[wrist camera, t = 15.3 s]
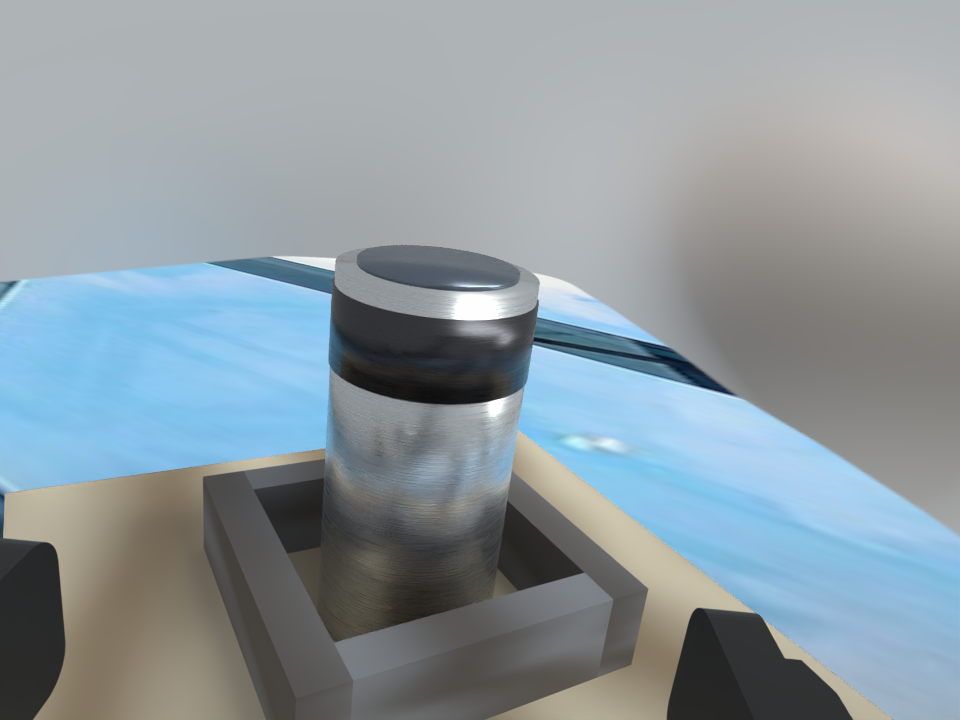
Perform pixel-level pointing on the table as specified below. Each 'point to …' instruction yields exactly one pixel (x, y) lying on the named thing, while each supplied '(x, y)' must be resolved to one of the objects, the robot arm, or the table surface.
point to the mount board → (373, 656)
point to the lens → (419, 431)
